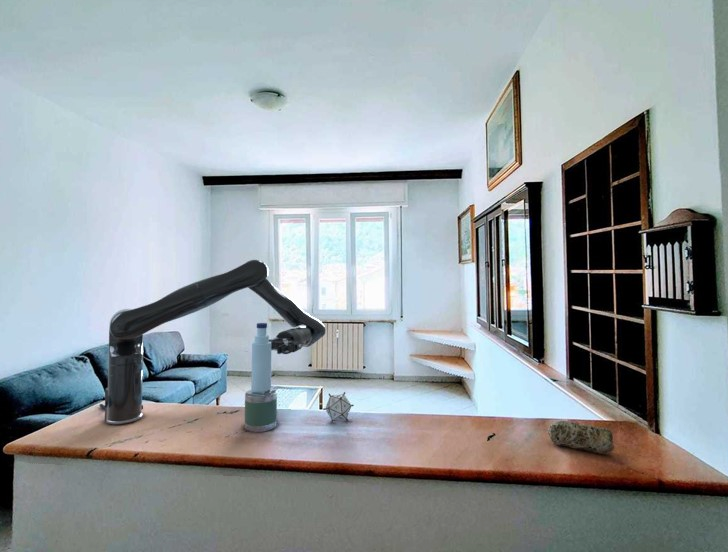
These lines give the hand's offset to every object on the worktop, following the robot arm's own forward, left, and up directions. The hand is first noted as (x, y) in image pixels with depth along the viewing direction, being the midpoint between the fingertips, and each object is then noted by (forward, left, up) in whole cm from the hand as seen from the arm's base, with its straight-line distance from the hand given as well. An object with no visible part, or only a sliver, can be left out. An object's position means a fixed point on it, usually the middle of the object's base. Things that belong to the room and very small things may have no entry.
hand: (265, 349), depth 120 cm
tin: (0, -2, -22) cm, 22 cm away
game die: (+20, +9, -22) cm, 31 cm away
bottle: (0, -2, -12) cm, 12 cm away
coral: (+85, +11, -22) cm, 88 cm away
